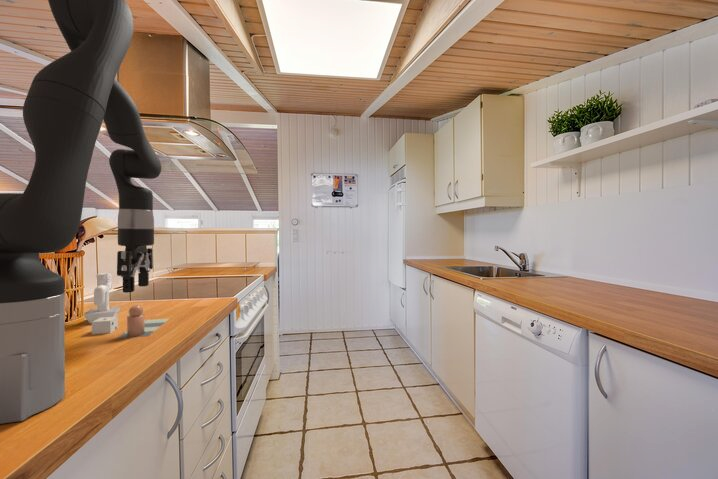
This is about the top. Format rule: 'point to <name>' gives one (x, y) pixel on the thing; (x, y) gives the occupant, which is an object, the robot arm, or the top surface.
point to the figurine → (102, 299)
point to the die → (104, 325)
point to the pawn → (135, 321)
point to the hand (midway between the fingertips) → (136, 289)
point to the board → (148, 327)
